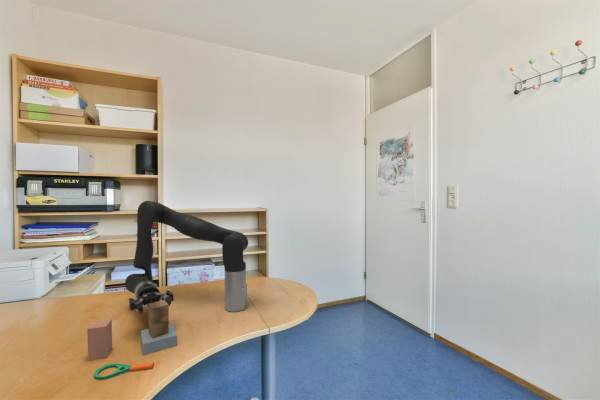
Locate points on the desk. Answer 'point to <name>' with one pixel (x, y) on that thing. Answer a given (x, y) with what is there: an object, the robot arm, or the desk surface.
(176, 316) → the desk surface
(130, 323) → the desk surface
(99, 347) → the brick-red block
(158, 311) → the walnut block
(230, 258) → the robot arm
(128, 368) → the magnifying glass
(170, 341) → the slate base block
